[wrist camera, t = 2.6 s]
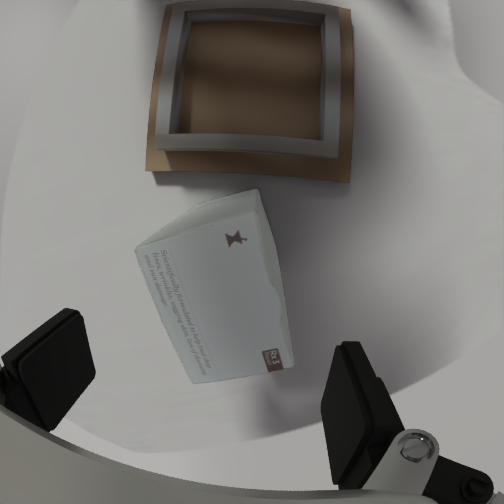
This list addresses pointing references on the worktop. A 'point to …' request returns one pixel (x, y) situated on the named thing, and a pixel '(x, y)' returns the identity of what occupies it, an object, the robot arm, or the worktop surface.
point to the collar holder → (253, 89)
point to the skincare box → (220, 289)
